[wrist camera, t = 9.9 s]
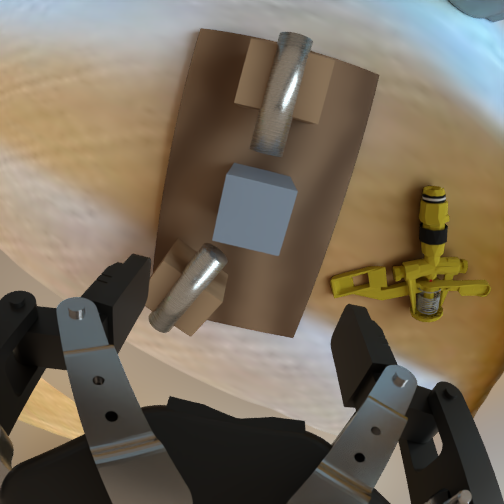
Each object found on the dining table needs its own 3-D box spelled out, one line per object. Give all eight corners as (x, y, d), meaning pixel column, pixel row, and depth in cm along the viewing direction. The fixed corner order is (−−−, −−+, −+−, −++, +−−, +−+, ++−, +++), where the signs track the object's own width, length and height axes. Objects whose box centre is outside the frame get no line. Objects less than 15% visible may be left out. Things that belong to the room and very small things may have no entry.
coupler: (290, 176, 27) (297, 191, 21) (275, 229, 29) (278, 256, 23) (234, 162, 27) (226, 174, 21) (221, 216, 29) (212, 240, 23)
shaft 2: (310, 46, 20) (315, 38, 17) (281, 155, 23) (283, 158, 21) (278, 37, 19) (280, 29, 17) (249, 147, 23) (248, 150, 21)
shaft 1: (228, 256, 27) (225, 268, 24) (173, 321, 29) (167, 337, 27) (205, 239, 26) (200, 250, 24) (152, 307, 29) (145, 322, 27)
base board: (375, 76, 24) (402, 67, 18) (292, 332, 35) (296, 369, 29) (202, 31, 23) (188, 10, 17) (152, 300, 34) (134, 333, 28)
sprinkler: (508, 190, 23) (489, 319, 28) (489, 182, 26) (477, 301, 32) (323, 200, 27) (332, 339, 32) (322, 191, 31) (331, 318, 36)
